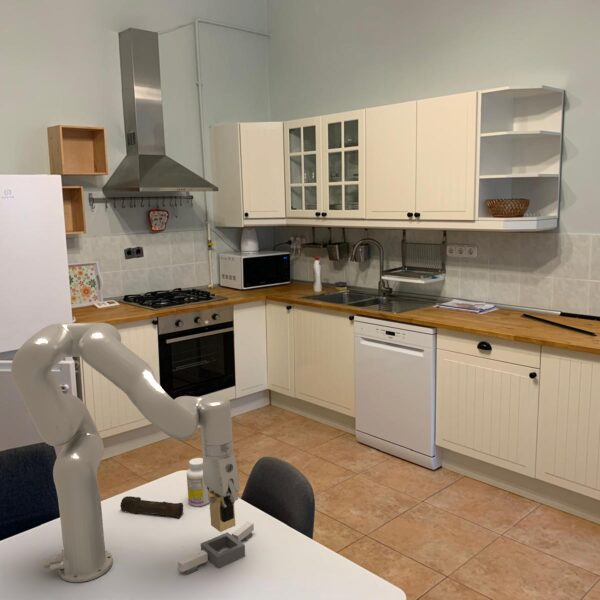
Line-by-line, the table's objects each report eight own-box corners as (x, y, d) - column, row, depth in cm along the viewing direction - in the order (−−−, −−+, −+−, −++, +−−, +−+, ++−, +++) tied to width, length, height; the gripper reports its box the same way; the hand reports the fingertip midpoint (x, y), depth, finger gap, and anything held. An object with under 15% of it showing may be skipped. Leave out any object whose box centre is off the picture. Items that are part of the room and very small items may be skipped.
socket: (269, 544, 163) (269, 534, 163) (188, 581, 149) (188, 570, 148) (249, 530, 170) (249, 520, 170) (170, 564, 156) (169, 553, 155)
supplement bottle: (203, 494, 192) (201, 454, 189) (215, 502, 187) (213, 461, 184) (184, 501, 187) (181, 460, 185) (195, 509, 182) (193, 467, 180)
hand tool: (185, 513, 181) (184, 498, 180) (178, 520, 177) (177, 505, 176) (126, 506, 186) (125, 492, 185) (118, 513, 182) (117, 498, 181)
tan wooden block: (238, 524, 158) (236, 491, 156) (217, 533, 154) (215, 499, 153) (228, 517, 161) (226, 485, 160) (208, 526, 158) (205, 492, 156)
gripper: (249, 452, 150) (254, 523, 153) (212, 433, 163) (217, 499, 166) (222, 462, 145) (227, 535, 149) (187, 441, 158) (192, 508, 162)
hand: (222, 515), depth 157 cm, fingers closed on tan wooden block, 4 cm apart
